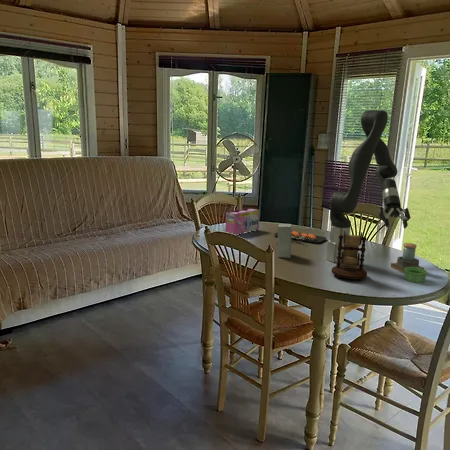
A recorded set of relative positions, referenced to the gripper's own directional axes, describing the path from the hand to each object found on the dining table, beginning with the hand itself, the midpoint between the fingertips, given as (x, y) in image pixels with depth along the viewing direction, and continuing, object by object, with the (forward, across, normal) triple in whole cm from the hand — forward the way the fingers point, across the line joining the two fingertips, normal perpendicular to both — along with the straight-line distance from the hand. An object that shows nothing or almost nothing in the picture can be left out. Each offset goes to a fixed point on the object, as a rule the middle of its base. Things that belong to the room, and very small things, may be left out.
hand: (396, 227), depth 197 cm
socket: (+22, +2, +1) cm, 22 cm away
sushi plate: (-9, -42, +38) cm, 58 cm away
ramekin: (+30, -1, -8) cm, 31 cm away
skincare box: (+11, -53, +15) cm, 56 cm away
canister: (+20, +2, 0) cm, 20 cm away
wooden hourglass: (+29, -28, -6) cm, 41 cm away
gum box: (-20, -72, +51) cm, 90 cm away
